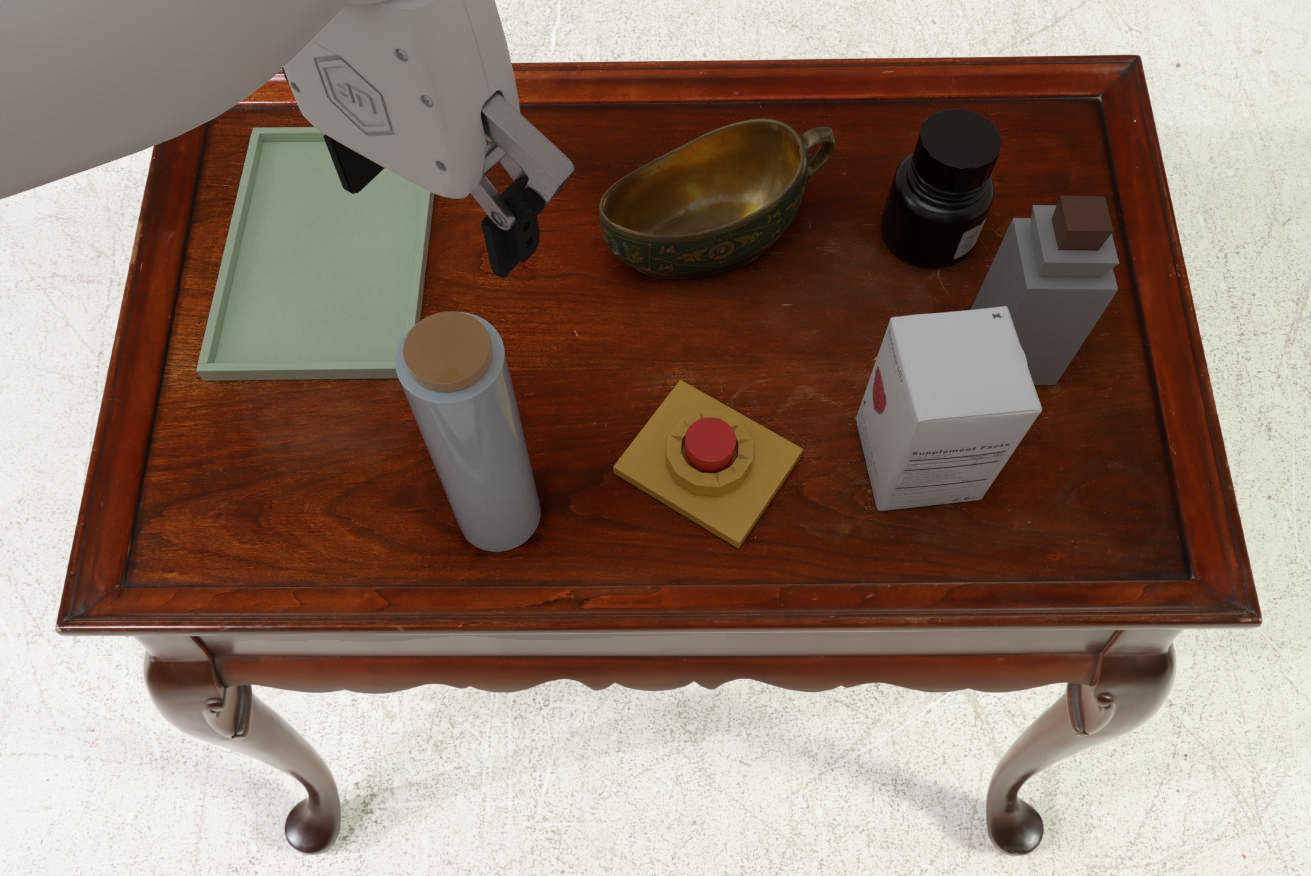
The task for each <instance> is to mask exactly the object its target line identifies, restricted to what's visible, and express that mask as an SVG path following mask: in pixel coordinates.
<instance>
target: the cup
mask: <svg viewBox="0 0 1311 876" xmlns="http://www.w3.org/2000/svg"><path fill="white" fill-rule="evenodd" d="M819 144H821V145H820V147H819V149H818V150H817V152H816V153H815V154H814V155H813V157H812V158H811V159H810V160H809V152H810V150H811V149H812V148H813V147H814V146H816V145H819ZM835 150H836V139H835V136H834V134H833V128H832V127H830V126H816V127H813V128H810V129H808V130H806V131H804V133H803V134H802V136H800V134H799V133H798V132H797V130H795V128H793V127H792V126H791V125H789V124H788V123H786V122H784V121H781V120H779V119H776V118H775V119H774V118H765V117H762V118H761V117H760V118H751V119H747V120H741V121H737V122H733V123H729V124H727V125H724V126H720V127H718V128H716V129H713V130H711V131H708V132H706V133H704V134H702V135H700V136H698V137H696V138H694V139H692V140H690V141H687V142H686V143H684V144H682V145H680V146H679V147H677V148H674V149H672V150H671V151H668V152H667V153H665V154H663V155H660V156H659V157H657V158H655V159H654V160H652V161H649V162H648V163H646V164H644V165H642V166H640V167H638V168H635V169H634V170H633V171H631V172H629V173H627V174H625V175H624V176H622V177H621V178H620V179H618V180H617V181H615V182H614V183H613V184H612V185H610V187H609V188H607V189H606V191H604V193H603V195H602V197H601V198H600V201H599V205H598V218H599V219H598V221H599V226H600V231H601V234H602V239H603V240H604V242H605V244H606V246H607V247H608V249H609V250H610V251H611V252H612V254H613V255H614V256H615V257H616V258H618V259H619V260H620V261H621V262H623V263H624V264H625V265H627V266H629V267H631V268H633V269H635V270H636V271H638V272H639V273H641V274H643V275H645V276H648V277H650V278H655V279H661V280H662V279H664V280H665V279H666V280H686V279H687V280H688V279H698V278H704V277H710V276H715V275H720V274H723V273H727V272H731V271H734V270H736V269H739V268H742V267H744V266H747V265H749V264H751V263H754V262H755V261H757V260H759V258H760V257H762V256H763V255H764V253H765V252H767V251H769V249H770V248H772V246H773V245H774V244H775V243H776V242H777V241H778V240H779V239H780V238H781V237H782V236H783V234H784V233H785V232H786V231H787V230H788V228H789V227H790V226H791V224H792V222H793V220H794V219H795V217H796V215H797V213H798V211H799V209H800V206H801V204H802V201H803V200H804V198H803V197H804V196H805V191H806V186H807V182H808V181H809V180H811V178H812V177H813V176H815V174H817V173H818V171H819V170H821V169H822V168H823V166H825V165H826V164H827V162H828V161H829V160H830V159H831V157H832V156H833V154H834V152H835Z"/></svg>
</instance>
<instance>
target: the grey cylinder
mask: <svg viewBox="0 0 1311 876" xmlns="http://www.w3.org/2000/svg"><path fill="white" fill-rule="evenodd" d="M508 362H509V361H508V357H507V353H506V349H505V344H504V341H503V338H502V336H501V335H500V333H499V331H498V330H497V328H495V326H493V325H492V324H491V323H490V322H488V321H487V320H486V319H484V318H482V317H481V316H479V315H475V314H473V313H470V312H463V311H453V310H452V311H451V310H449V311H440V312H436V313H433V314H430V315H428V316H426V317H424V318H422V319H420V322H418V323H417V324H416V325H414V326H413V327H412V328H411V329H410V330H409V331H408V332H407V333H406V334H405V335H404V337H403V338H402V340H401V341H400V343H399V346H398V348H397V351H396V356H395V369H396V373H397V376H398V378H397V379H398V381H399V383H400V386H401V388H402V391H403V393H404V395H405V398H406V400H407V402H408V405H409V408H410V411H411V413H412V415H413V418H414V420H415V423H416V425H417V427H418V431H419V432H420V435H421V437H422V440H423V442H424V445H425V447H426V449H427V451H428V454H429V456H430V460H431V461H432V464H433V467H434V469H435V471H436V474H437V476H438V478H439V481H440V484H441V486H442V488H443V491H444V493H445V495H446V498H447V500H448V503H449V505H450V507H451V510H452V512H453V515H454V517H455V520H456V522H457V525H458V528H459V530H460V531H461V534H462V535H463V537H464V538H465V539H466V540H467V542H469V543H470V544H471V545H472V546H474V547H476V548H478V549H480V550H483V551H487V552H493V553H497V552H498V553H499V552H500V553H501V552H506V551H511V550H513V549H515V548H517V547H520V546H521V545H523V544H524V543H526V542H527V540H529V539H530V538H531V537H532V536H533V535H534V533H535V532H536V530H537V528H538V526H539V523H540V519H541V516H542V515H541V514H542V513H541V512H542V510H541V509H542V508H541V503H540V498H539V495H538V490H537V486H536V480H535V476H534V472H533V467H532V463H531V459H530V454H529V450H528V445H527V441H526V436H525V432H524V428H523V424H522V420H521V414H520V410H519V405H518V403H517V398H516V393H515V389H514V384H513V380H512V376H511V371H510V367H509V363H508Z"/></svg>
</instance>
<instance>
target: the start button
mask: <svg viewBox="0 0 1311 876" xmlns="http://www.w3.org/2000/svg"><path fill="white" fill-rule="evenodd" d="M735 446H736V435H735V433H734V431H733V429H732V428H731V426H730V425H729V424H728V423H726V422H725V421H723V420H721V419H718V418H712V417H708V418H702V419H699V420H697V421H696V422H694V423H693V424H692V425H691V426H690V427H689V428H688V430H687V432H686V435H685V455H686V457H687V459H688V461H689V462H690V463H691V464H692V465H693V466H694V467H696V468H697V469H700V470H702V471H708V472H713V471H718V470H721V469H723V468H725V467H726V466H727V465H728V464H729V463H730V462H731V461H732V459H733V457H734V453H735Z"/></svg>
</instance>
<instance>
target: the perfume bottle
mask: <svg viewBox="0 0 1311 876" xmlns="http://www.w3.org/2000/svg"><path fill="white" fill-rule="evenodd" d="M1113 232H1114V227H1113V223H1112V220H1111V216H1110V211H1109V207H1108V203H1107V200H1106V196H1103V195H1102V196H1101V195H1097V196H1096V195H1059V197H1058V200H1057V203H1056V205H1054V204H1053V205H1052V204H1049V205H1048V204H1039V205H1038V204H1033V205H1032V207H1031V217H1013V218H1012V219H1011V222H1010V224H1009V226H1008V228H1007V229H1006V232H1005V235H1004V236H1003V239H1002V241H1001V243H1000V245H999V248H998V250H997V252H996V254H995V255H994V256H995V257H994V258H993V260H992V263H991V264H990V266H989V269H988V272H987V273H986V276H985V278H984V280H983V282H982V284H981V287H980V288H979V291H978V293H977V295H976V297H975V299H974V301H973V303H972V306H971V308H970V310H975V309H985V308H994V307H1002V306H1007V307H1008V309H1009V312H1010V315H1011V318H1012V321H1013V324H1014V327H1015V330H1016V333H1017V336H1018V339H1019V342H1020V345H1021V347H1022V349H1023V351H1024V353H1025V356H1026V359H1027V365H1028V369H1029V372H1030V375H1031V378H1032V380H1033V383H1034V386H1056V385H1057V383H1058V382H1059V380H1061V378H1062V376H1063V375H1064V373H1065V371H1066V370H1067V368H1068V367H1069V365H1070V364H1071V363H1072V361H1073V359H1074V358H1075V356H1076V355H1077V353H1078V352H1079V351H1080V349H1081V348H1082V346H1083V344H1084V342H1085V341H1086V340H1087V338H1088V336H1089V335H1090V334H1091V332H1092V330H1093V329H1094V327H1095V326H1096V324H1097V323H1098V321H1099V320H1100V318H1101V317H1102V315H1103V313H1105V311H1106V309H1107V307H1108V306H1109V304H1110V303H1111V301H1112V300H1113V298H1114V297H1115V295H1116V294H1117V292H1118V291H1119V287H1118V284H1117V279H1116V276H1115V272H1114V268H1115V267H1117V266H1118V265H1119V264H1120V260H1119V257H1118V252H1117V249H1116V245H1115V241H1114V237H1113Z"/></svg>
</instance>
